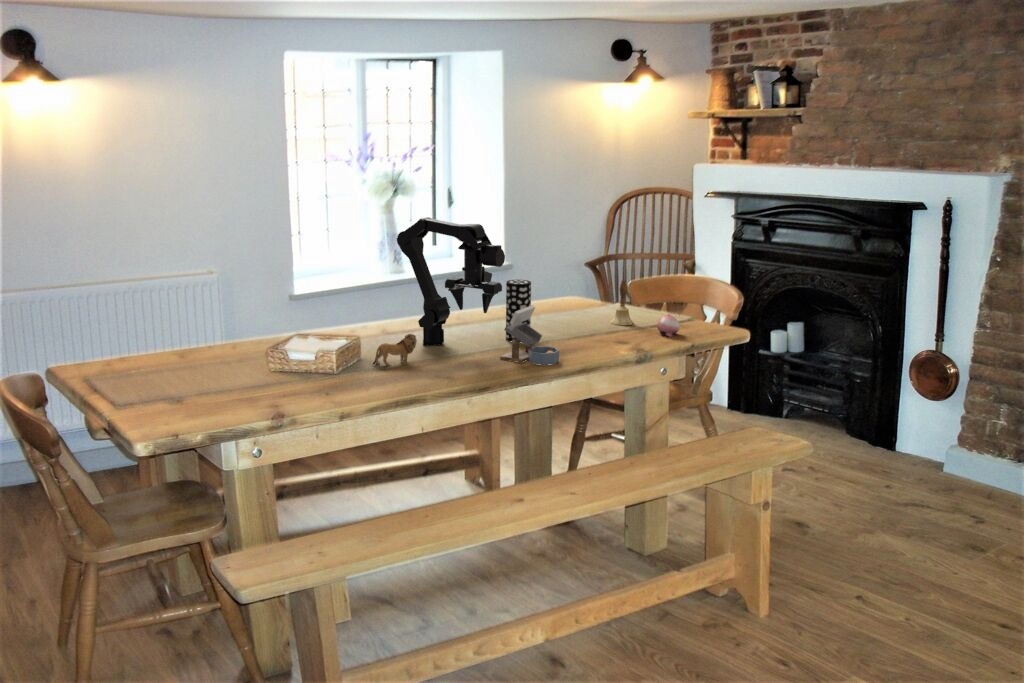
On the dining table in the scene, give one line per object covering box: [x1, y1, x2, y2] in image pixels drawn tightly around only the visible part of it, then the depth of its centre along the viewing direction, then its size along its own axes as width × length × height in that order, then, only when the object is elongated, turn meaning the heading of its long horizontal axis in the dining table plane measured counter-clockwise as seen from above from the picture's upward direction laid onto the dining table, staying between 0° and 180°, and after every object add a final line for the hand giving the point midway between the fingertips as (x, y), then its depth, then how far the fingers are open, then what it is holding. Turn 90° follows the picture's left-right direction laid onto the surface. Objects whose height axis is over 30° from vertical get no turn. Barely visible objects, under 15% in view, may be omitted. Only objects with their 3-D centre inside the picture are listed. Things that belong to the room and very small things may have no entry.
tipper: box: [503, 304, 543, 347], centre depth 342 cm, size 10×11×8 cm
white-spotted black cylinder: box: [505, 279, 532, 342], centre depth 366 cm, size 8×8×20 cm
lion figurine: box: [372, 333, 417, 367], centre depth 337 cm, size 15×5×9 cm, turn 117°
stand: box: [499, 339, 533, 363], centre depth 345 cm, size 8×11×7 cm
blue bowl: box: [527, 345, 560, 366], centre depth 341 cm, size 9×9×4 cm
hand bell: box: [610, 279, 634, 326], centre depth 392 cm, size 8×8×16 cm
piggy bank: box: [656, 313, 681, 338], centre depth 377 cm, size 8×8×7 cm
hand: (473, 311), depth 351 cm, fingers open, 9 cm apart
